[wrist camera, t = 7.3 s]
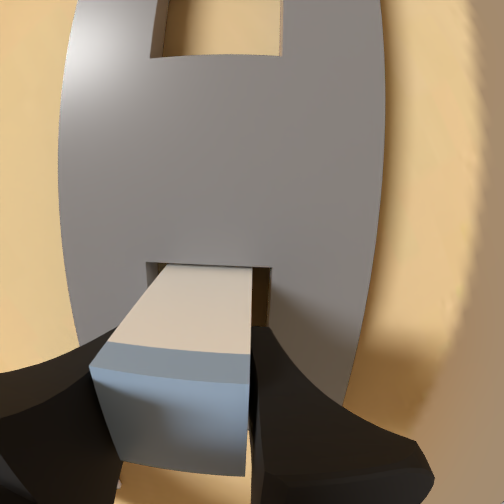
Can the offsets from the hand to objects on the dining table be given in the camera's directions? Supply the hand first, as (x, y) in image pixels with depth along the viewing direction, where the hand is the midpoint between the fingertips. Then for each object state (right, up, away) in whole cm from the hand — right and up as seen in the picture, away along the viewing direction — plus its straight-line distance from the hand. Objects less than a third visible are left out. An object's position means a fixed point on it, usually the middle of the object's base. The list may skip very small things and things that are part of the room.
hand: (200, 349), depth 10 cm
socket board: (0, +7, +2) cm, 7 cm away
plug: (0, +1, +3) cm, 3 cm away
